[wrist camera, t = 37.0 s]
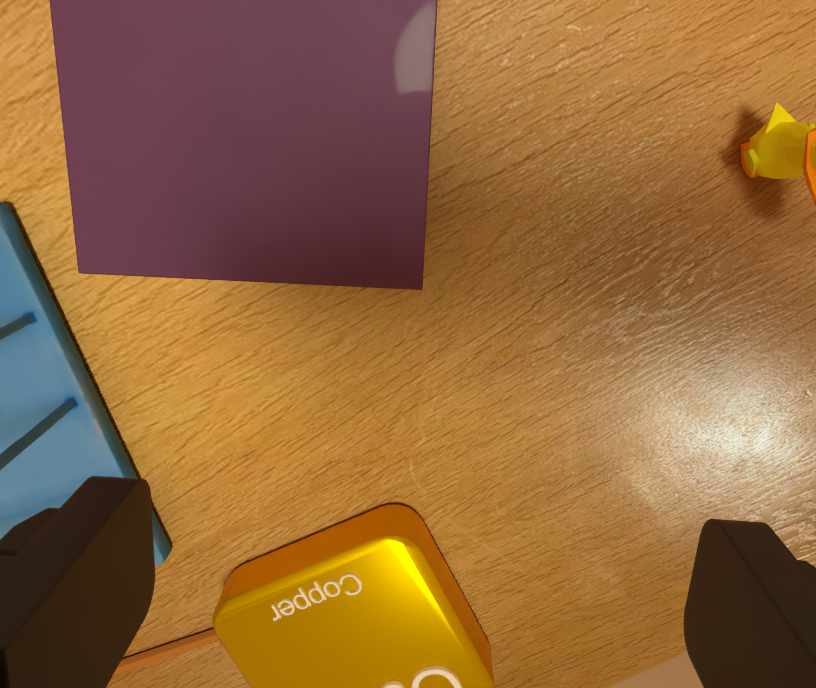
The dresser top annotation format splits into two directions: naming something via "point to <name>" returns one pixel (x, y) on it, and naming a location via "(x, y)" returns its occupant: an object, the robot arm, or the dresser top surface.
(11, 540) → the robot arm
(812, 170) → the toy figure
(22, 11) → the dresser top surface
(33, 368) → the file sorter
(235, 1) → the lid
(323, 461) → the dresser top surface
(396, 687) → the element tile
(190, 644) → the pencil
